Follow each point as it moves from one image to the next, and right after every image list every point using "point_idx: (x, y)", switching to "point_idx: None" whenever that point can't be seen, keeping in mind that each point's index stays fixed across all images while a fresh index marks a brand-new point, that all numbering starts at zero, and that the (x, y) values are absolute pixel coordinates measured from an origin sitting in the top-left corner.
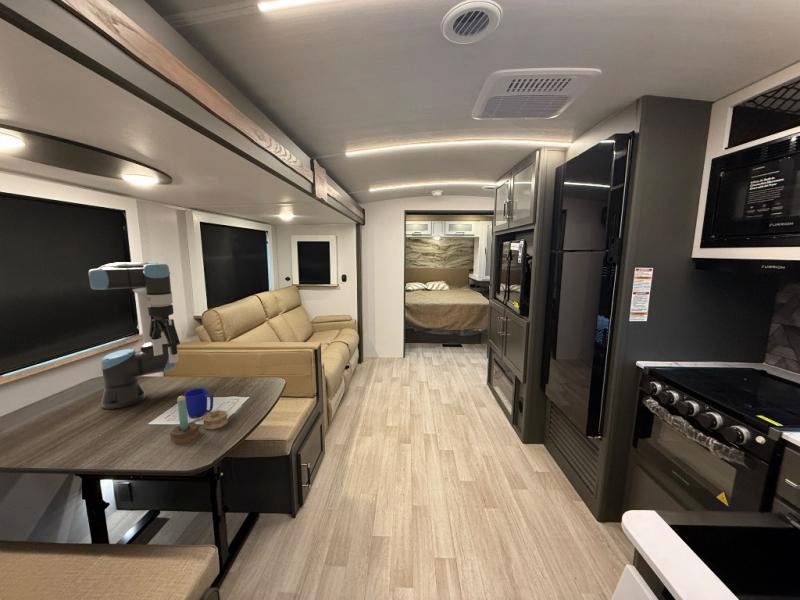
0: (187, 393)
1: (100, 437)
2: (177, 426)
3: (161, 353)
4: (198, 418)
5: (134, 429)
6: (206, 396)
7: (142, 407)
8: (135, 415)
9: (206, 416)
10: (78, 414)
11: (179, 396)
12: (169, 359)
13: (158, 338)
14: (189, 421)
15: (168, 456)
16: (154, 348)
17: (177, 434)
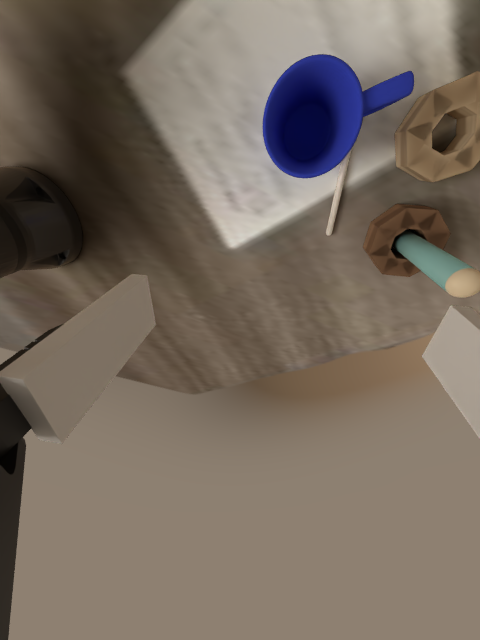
0: (274, 148)
1: (211, 320)
2: (375, 248)
3: (145, 288)
4: (349, 157)
5: (233, 277)
6: (386, 103)
7: (114, 211)
8: (155, 243)
9: (420, 158)
10: (63, 299)
11: (462, 291)
12: (443, 379)
13: (5, 396)
14: (339, 188)
15: (431, 299)
16: (123, 363)
17: (418, 271)
